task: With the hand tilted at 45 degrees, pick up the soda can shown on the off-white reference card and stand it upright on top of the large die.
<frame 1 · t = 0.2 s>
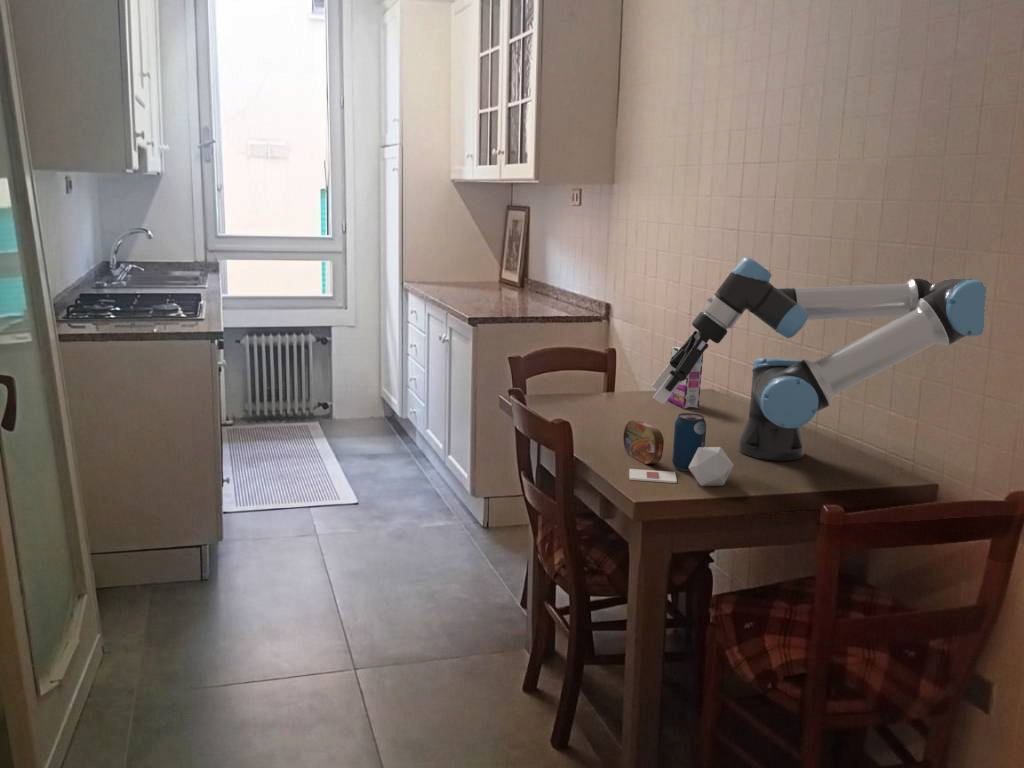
hand: (657, 395, 218), 15 cm above the table, tool tilted 35°, fingers open, 13 cm apart
reference card: (652, 476, 208), on the table
tin: (642, 460, 222), on the table
soda can: (687, 468, 216), on the table
candy bar box: (683, 405, 280), on the table
die: (709, 484, 205), on the table
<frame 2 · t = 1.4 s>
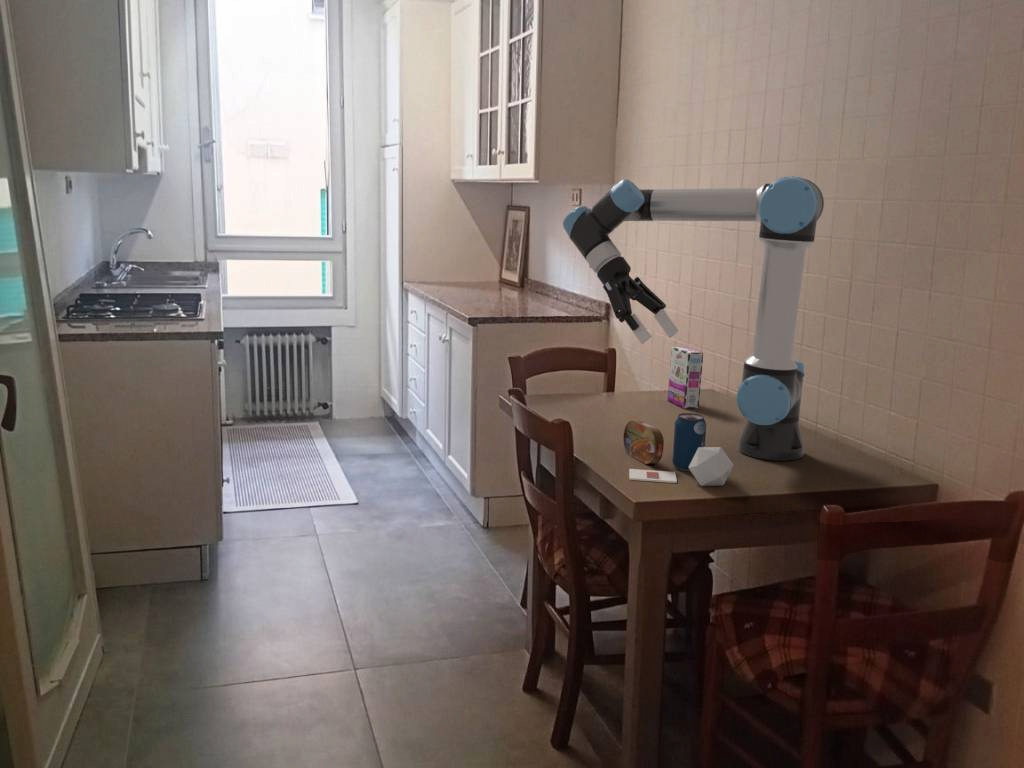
hand: (660, 337, 220), 28 cm above the table, tool tilted 45°, fingers open, 13 cm apart
nothing on the table moved.
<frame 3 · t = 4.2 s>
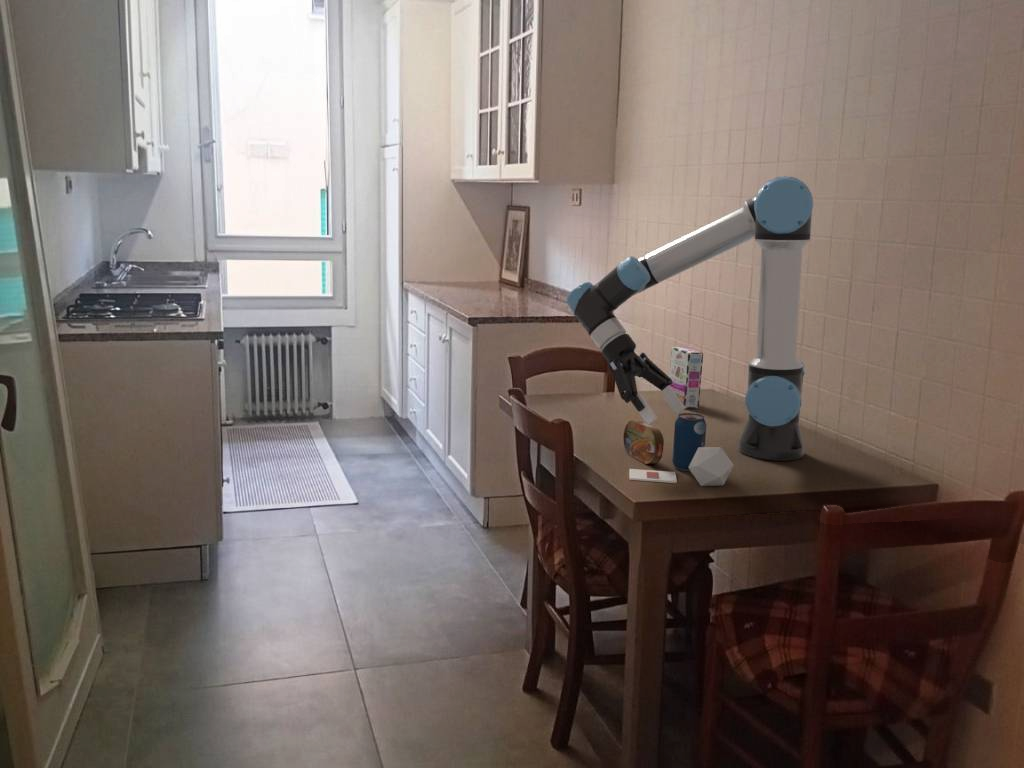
hand: (667, 416, 217), 11 cm above the table, tool tilted 45°, fingers open, 13 cm apart
nothing on the table moved.
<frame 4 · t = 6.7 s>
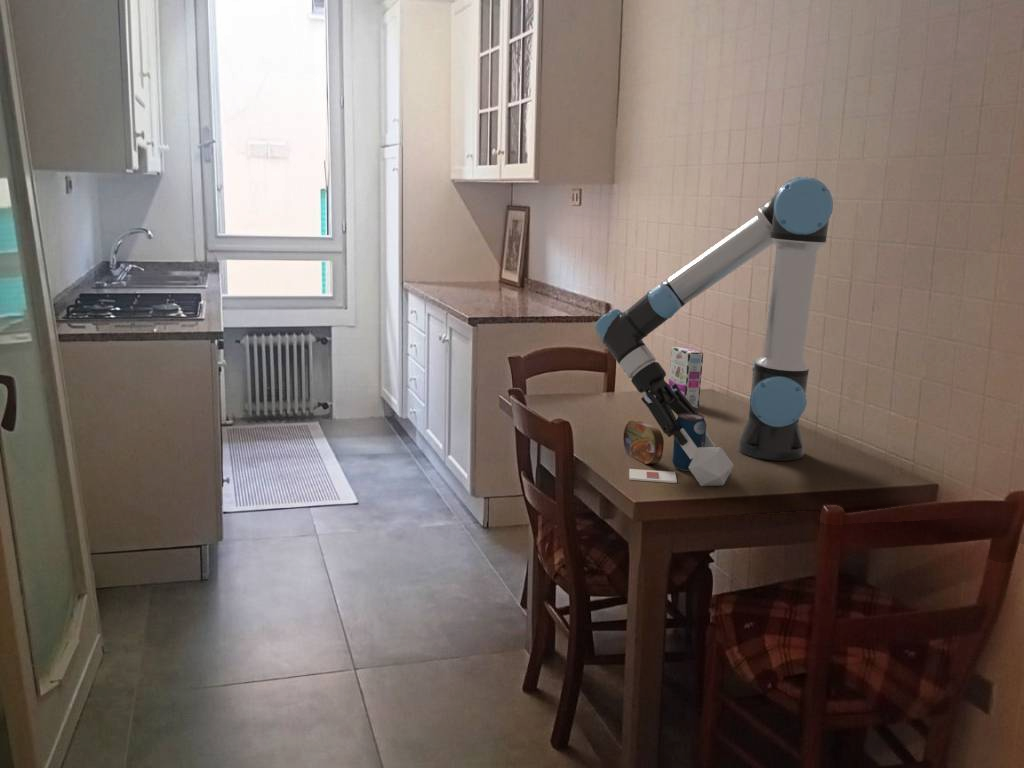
hand: (703, 452, 213), 4 cm above the table, tool tilted 45°, fingers closed on soda can, 7 cm apart
soda can: (687, 468, 216), on the table, touching gripper
everything else where it was.
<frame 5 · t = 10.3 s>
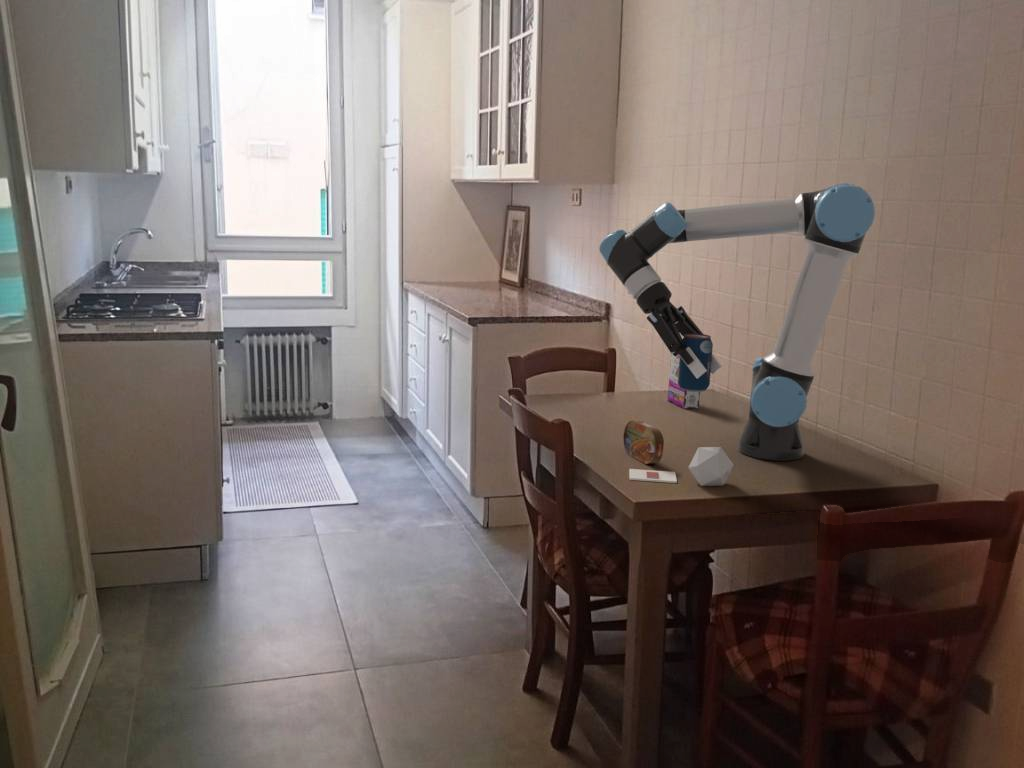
hand: (709, 372, 209), 22 cm above the table, tool tilted 45°, fingers closed on soda can, 7 cm apart
soda can: (693, 389, 212), point 18 cm above the table, touching gripper
everything else where it was.
when the fingers open (15 cm above the table, at t = 13.9 s): soda can drops 3 cm, resting on die.
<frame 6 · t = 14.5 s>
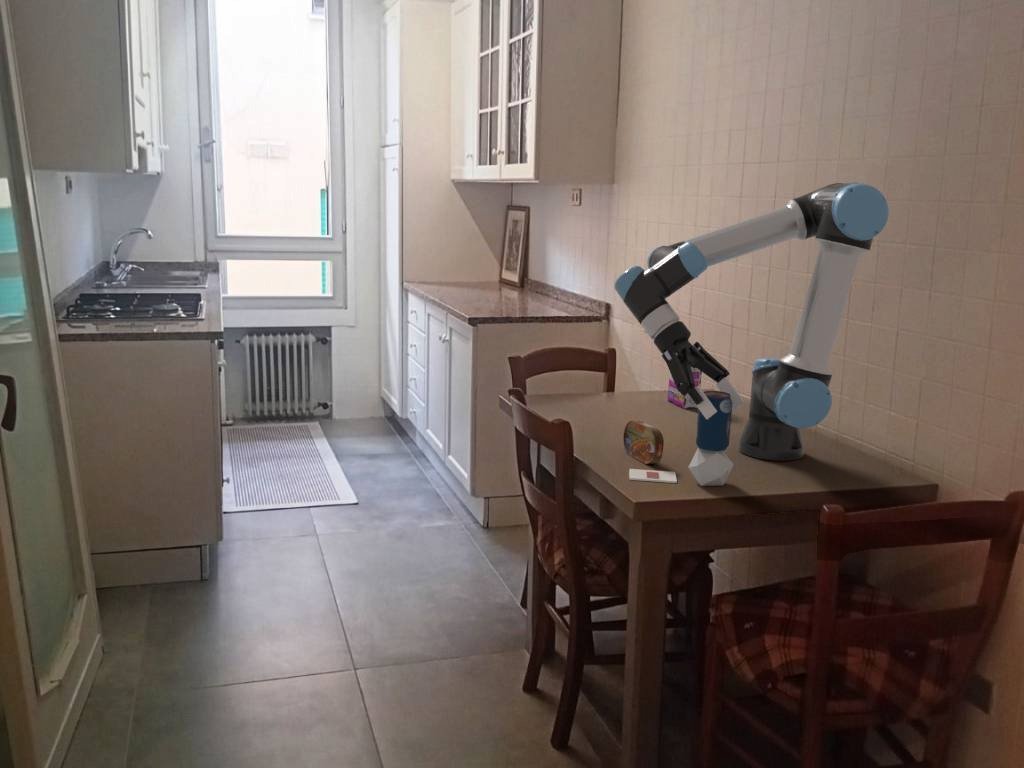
hand: (726, 410, 200), 16 cm above the table, tool tilted 45°, fingers open, 13 cm apart
soda can: (711, 449, 204), point 7 cm above the table, touching die
die: (709, 484, 205), on the table, touching soda can
everything else where it was.
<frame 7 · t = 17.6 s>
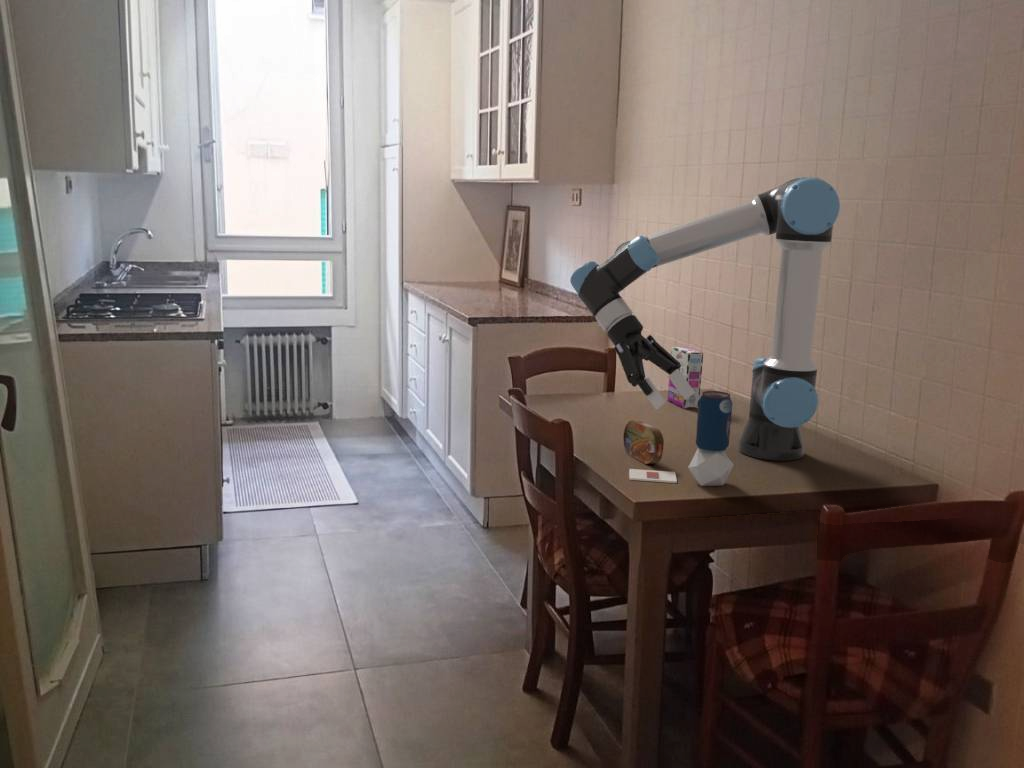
hand: (676, 401, 207), 17 cm above the table, tool tilted 45°, fingers open, 13 cm apart
nothing on the table moved.
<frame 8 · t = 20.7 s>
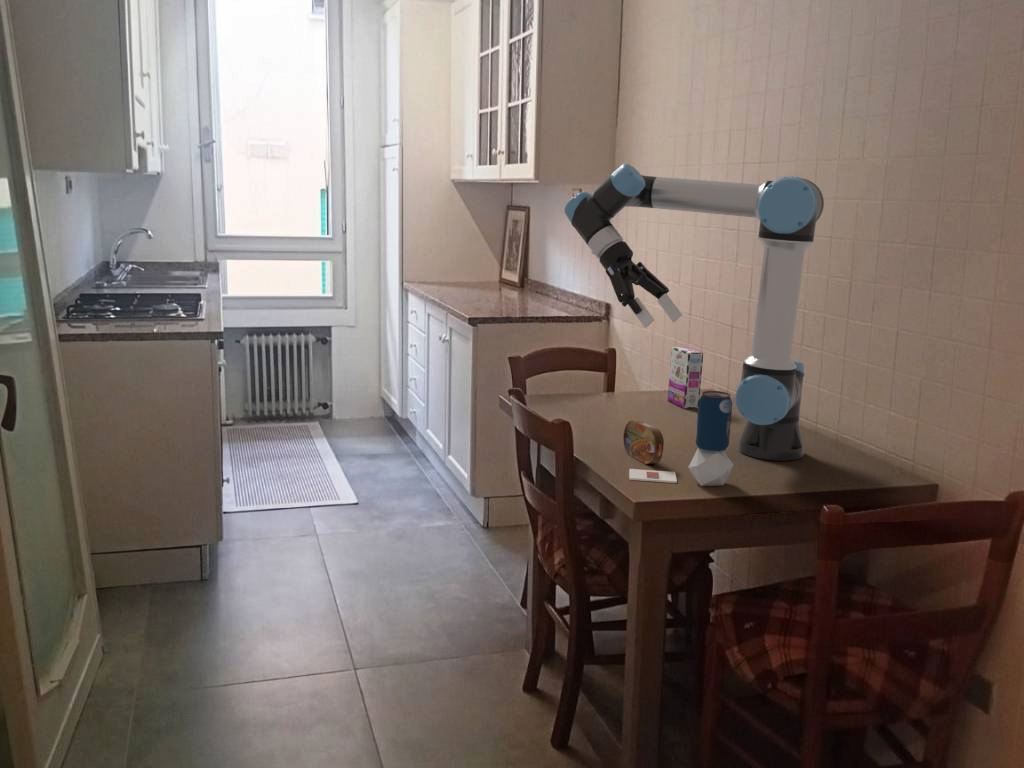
hand: (664, 321, 219), 32 cm above the table, tool tilted 45°, fingers open, 13 cm apart
nothing on the table moved.
at the end: soda can inside the target area on the die (0.1 cm from its centre), point 7.7 cm above the die's base; soda can tilted 0°; soda can touching die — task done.
